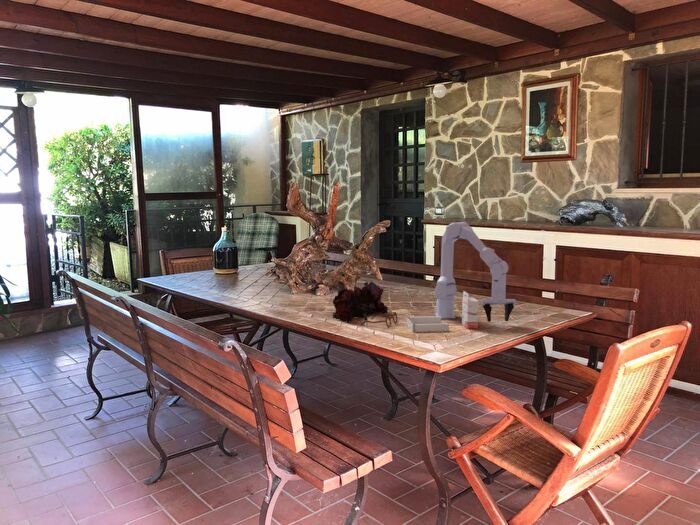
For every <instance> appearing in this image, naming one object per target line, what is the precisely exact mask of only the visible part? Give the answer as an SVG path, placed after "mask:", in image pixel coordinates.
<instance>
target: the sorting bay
mask: <svg viewBox="0 0 700 525" xmlns="http://www.w3.org/2000/svg"><path fill="white" fill-rule="evenodd" d="M406 325H407V326H408V327H410V328H409V329H410V330H411V332H413V333H422V332H423V333H427V332H428V331H430V332H449V331H450V322H448V323H447V322H445V323H442V319H441V316H436V315H435V316H433V315H431V316H408V315H407V317H406ZM430 332H429V333H430Z"/></svg>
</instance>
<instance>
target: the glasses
mask: <svg viewBox="0 0 700 525" xmlns="http://www.w3.org/2000/svg"><path fill="white" fill-rule="evenodd" d="M376 317H382V318H385V320H376V321H370V320H373V319H374V318H376ZM391 319H392V320H391ZM370 320H364V321H363V322H361V323H360V324H359V326H363V325H364V324H365V323H370V324H379V323H385V324H386V325H385V326H386V327H387V328H390V327H392V321H393V323H395V324H396V323H397V322H398V314H397V312H395V311H393V313H392V314H385V315H382V314H375V315H374V314H373V316H372V317H371V318H370ZM388 321H389V324H388ZM389 326H390V327H389Z"/></svg>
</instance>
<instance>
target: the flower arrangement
mask: <svg viewBox="0 0 700 525" xmlns="http://www.w3.org/2000/svg"><path fill="white" fill-rule="evenodd" d="M363 285H364V286H362V288H360V287H359V286H353V289H349V288H339V289H338V290H337V295H335V296H334V298H333V299H332V305H333V306H334V309H335V312H332V319H334V318H336V319H335V320H337V319H340V320H339V321H342V320H344V321H347V322H346V323H350V322H349V321H352V319H354V318H353V317H358V318H363V319H364V318H365V319H364V321H368V317H367V316H369V315H368V314H370V315H374V314H373V313H375V314H378V313H377V312H382V313H383V314H387V313H388V306H386V305H385V302H383V301H382V295H383V293H384V289H383V288H381V287H380V286H379V285H377V284H376V283H374V282H373V281H370V282H368V281H366V282H364V283H363ZM344 321H343V322H344Z"/></svg>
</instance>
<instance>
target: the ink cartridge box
mask: <svg viewBox="0 0 700 525" xmlns="http://www.w3.org/2000/svg"><path fill="white" fill-rule="evenodd" d="M479 304H480V302H479V300H477V299H476V298H474V297H470V296H469V293H468V292H467V291H464V290H463V295H462V304H461V305H462V309H461V311H462V312H461V325H463V327H465V328H466V329H467V328H468V329H479V306H480V305H479Z"/></svg>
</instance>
